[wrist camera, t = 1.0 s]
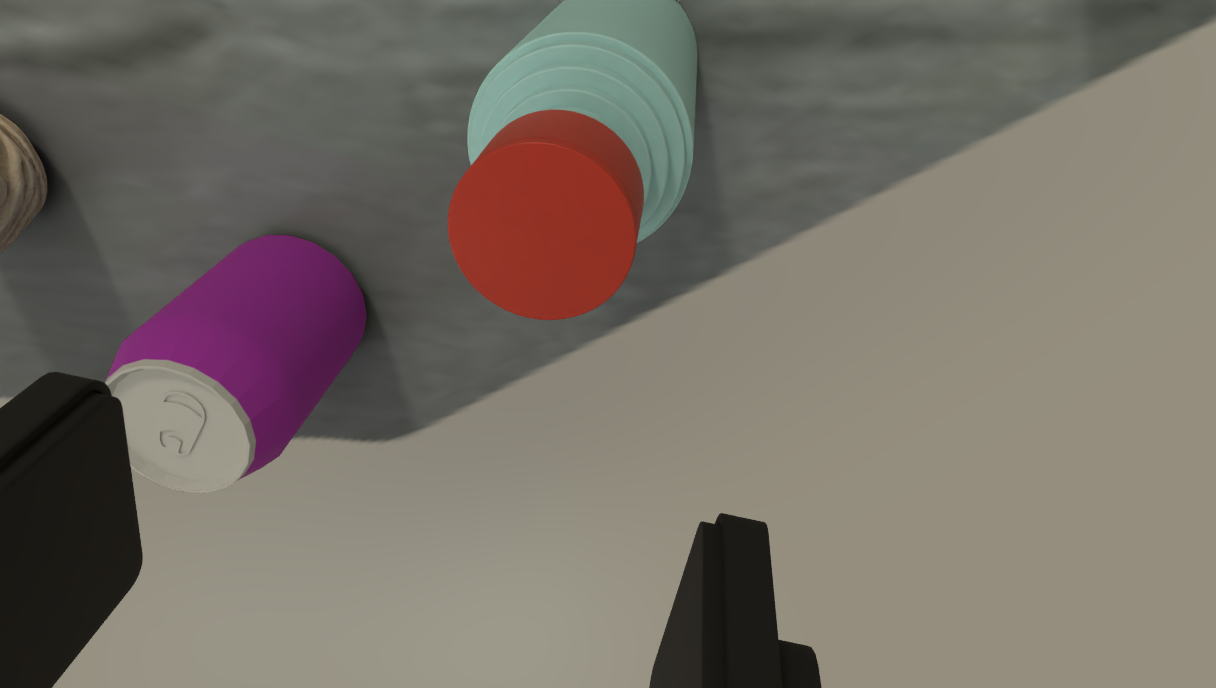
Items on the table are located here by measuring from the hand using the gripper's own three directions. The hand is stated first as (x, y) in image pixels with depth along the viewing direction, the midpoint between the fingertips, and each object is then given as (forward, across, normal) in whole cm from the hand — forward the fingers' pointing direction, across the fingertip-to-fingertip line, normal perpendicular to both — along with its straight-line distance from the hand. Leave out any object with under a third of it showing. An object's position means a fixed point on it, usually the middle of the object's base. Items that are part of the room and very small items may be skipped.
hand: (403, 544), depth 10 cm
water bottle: (+30, 0, 0) cm, 30 cm away
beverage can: (+30, +14, +15) cm, 36 cm away
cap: (+13, 0, 0) cm, 13 cm away
